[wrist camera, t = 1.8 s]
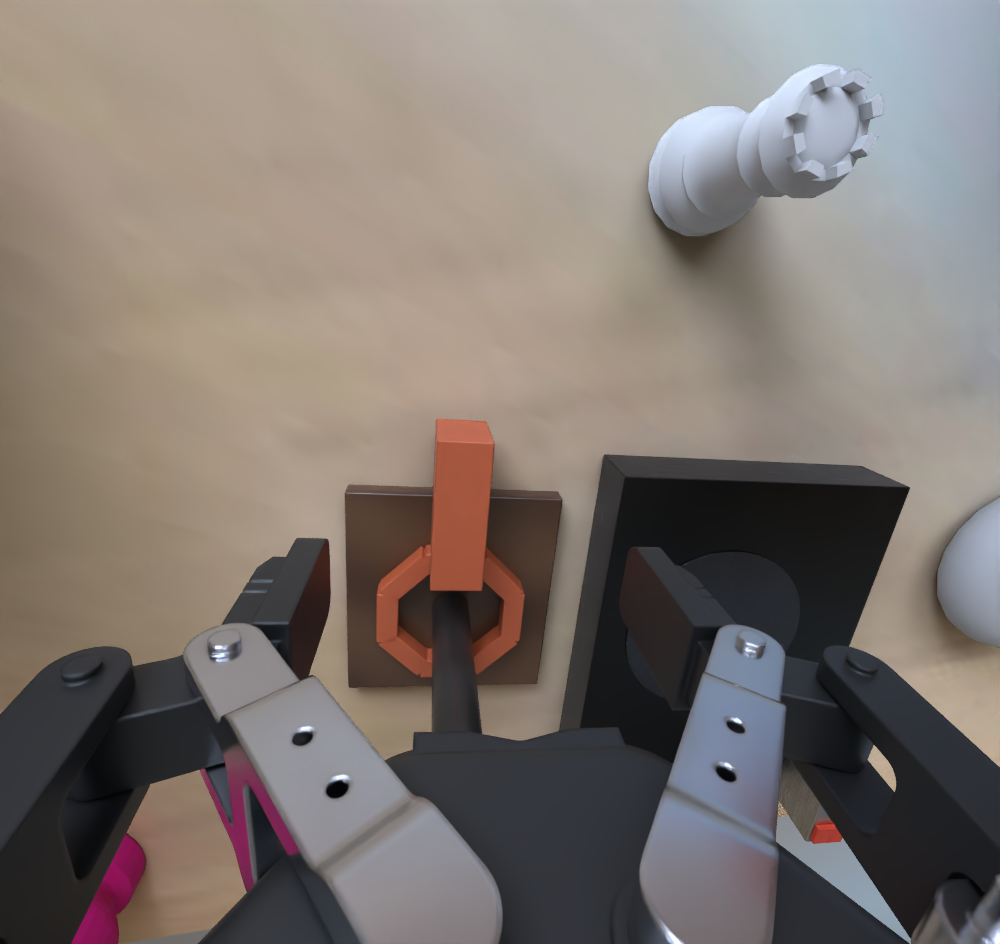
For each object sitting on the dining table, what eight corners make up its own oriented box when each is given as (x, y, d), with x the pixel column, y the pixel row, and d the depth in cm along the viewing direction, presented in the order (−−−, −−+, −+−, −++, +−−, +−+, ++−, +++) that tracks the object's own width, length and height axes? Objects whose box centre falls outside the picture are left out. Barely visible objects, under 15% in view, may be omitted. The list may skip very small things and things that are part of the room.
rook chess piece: (690, 86, 20) (842, -27, 13) (769, 161, 21) (950, 99, 14) (621, 194, 21) (724, 149, 14) (700, 259, 22) (835, 251, 15)
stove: (603, 454, 25) (626, 477, 22) (896, 467, 27) (953, 490, 24) (555, 751, 32) (568, 799, 29) (795, 741, 34) (829, 785, 31)
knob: (776, 692, 28) (841, 771, 23) (806, 691, 28) (876, 769, 24) (752, 761, 29) (809, 846, 25) (781, 760, 30) (842, 844, 25)
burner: (643, 549, 24) (644, 550, 23) (821, 552, 25) (822, 553, 25) (612, 703, 27) (612, 705, 27) (771, 699, 28) (772, 700, 28)
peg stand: (347, 484, 24) (269, 677, 12) (558, 491, 25) (662, 669, 14) (351, 674, 28) (293, 957, 16) (534, 671, 29) (600, 929, 18)
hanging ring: (512, 662, 27) (522, 709, 24) (378, 664, 26) (371, 713, 24) (540, 423, 23) (556, 445, 20) (379, 415, 22) (371, 437, 19)
